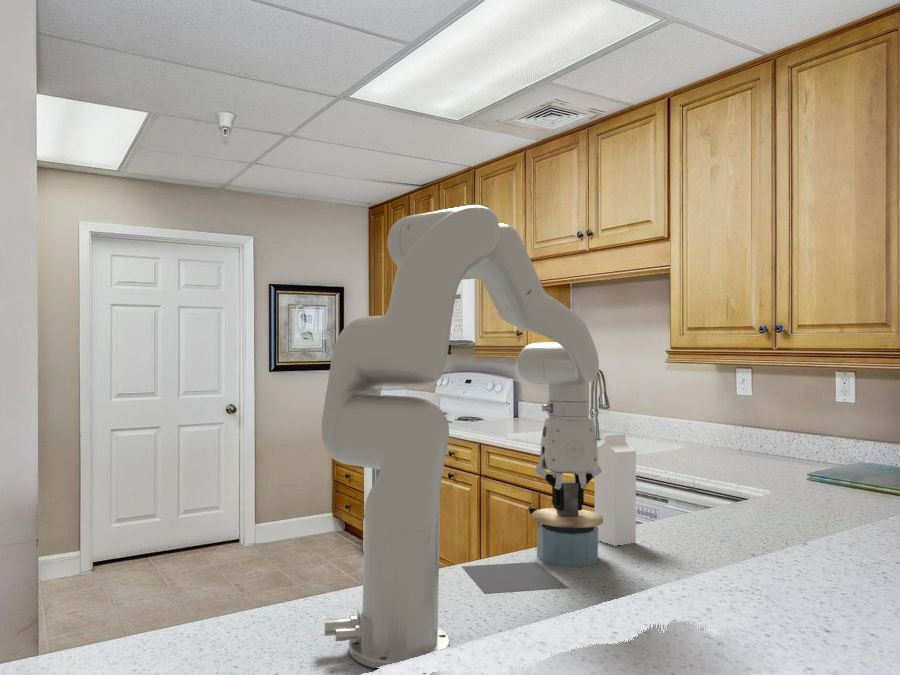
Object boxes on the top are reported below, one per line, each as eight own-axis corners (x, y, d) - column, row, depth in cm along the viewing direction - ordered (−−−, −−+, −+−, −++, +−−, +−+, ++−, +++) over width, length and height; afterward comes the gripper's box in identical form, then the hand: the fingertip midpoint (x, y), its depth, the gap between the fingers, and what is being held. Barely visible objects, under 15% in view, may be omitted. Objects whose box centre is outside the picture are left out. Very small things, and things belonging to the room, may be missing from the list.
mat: (484, 596, 101) (484, 593, 101) (461, 569, 115) (461, 566, 115) (568, 590, 104) (568, 587, 105) (536, 564, 118) (536, 561, 118)
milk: (635, 543, 134) (637, 435, 135) (615, 547, 131) (616, 436, 132) (613, 536, 139) (615, 432, 140) (593, 539, 136) (594, 433, 137)
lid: (548, 529, 114) (548, 490, 115) (522, 513, 127) (523, 477, 127) (615, 526, 117) (616, 488, 118) (584, 510, 130) (584, 476, 130)
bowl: (551, 570, 115) (551, 535, 115) (529, 552, 126) (529, 521, 126) (608, 566, 118) (608, 532, 118) (581, 549, 128) (582, 518, 129)
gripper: (535, 412, 117) (534, 515, 116) (617, 412, 121) (617, 512, 120) (520, 409, 125) (519, 506, 124) (599, 409, 128) (598, 503, 128)
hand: (567, 508), depth 122 cm, fingers closed on lid, 3 cm apart
